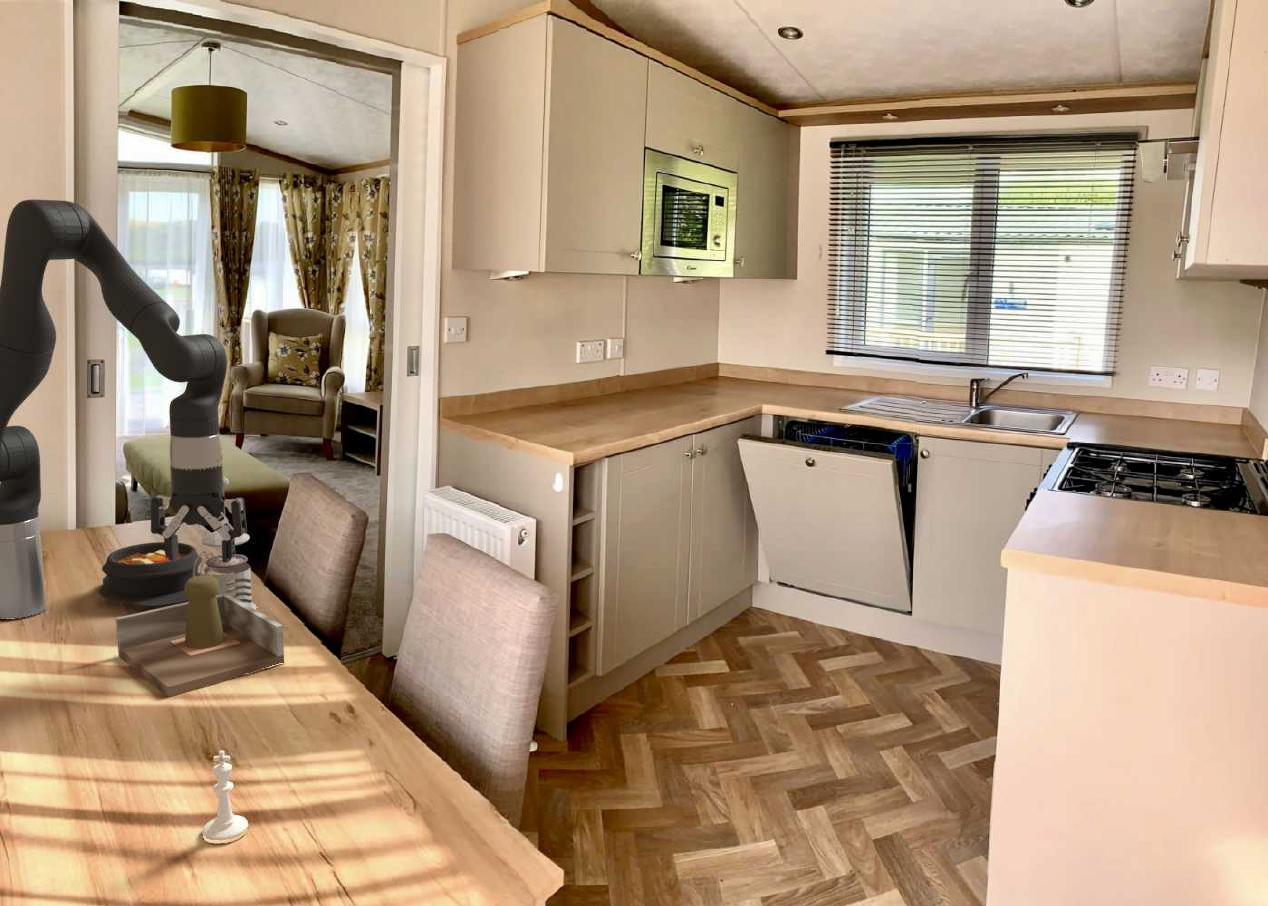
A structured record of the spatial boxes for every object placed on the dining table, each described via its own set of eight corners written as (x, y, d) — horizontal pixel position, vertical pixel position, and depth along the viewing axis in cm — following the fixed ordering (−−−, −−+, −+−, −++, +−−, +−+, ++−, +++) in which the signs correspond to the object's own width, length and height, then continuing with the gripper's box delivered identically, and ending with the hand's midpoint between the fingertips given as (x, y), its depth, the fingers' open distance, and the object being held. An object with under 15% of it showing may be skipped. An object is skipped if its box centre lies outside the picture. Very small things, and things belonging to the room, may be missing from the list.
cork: (228, 644, 160) (225, 580, 158) (188, 651, 157) (184, 586, 155) (220, 632, 165) (217, 569, 163) (181, 639, 162) (177, 575, 160)
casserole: (232, 601, 184) (230, 558, 183) (127, 625, 171) (124, 579, 170) (178, 569, 201) (176, 529, 200) (79, 588, 188) (75, 546, 187)
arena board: (118, 656, 158) (115, 618, 157) (228, 628, 171) (227, 593, 170) (168, 696, 145) (166, 655, 143) (284, 663, 158) (282, 625, 156)
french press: (269, 607, 182) (264, 475, 177) (219, 627, 171) (212, 488, 167) (230, 598, 186) (224, 469, 181) (179, 617, 175) (171, 481, 171)
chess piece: (210, 820, 114) (206, 741, 112) (254, 819, 115) (250, 740, 113) (195, 845, 109) (190, 762, 108) (241, 844, 110) (237, 762, 108)
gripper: (139, 465, 151) (145, 565, 154) (233, 468, 152) (236, 569, 155) (161, 455, 159) (166, 551, 162) (250, 458, 159) (253, 554, 162)
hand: (200, 560), depth 158 cm, fingers open, 8 cm apart
